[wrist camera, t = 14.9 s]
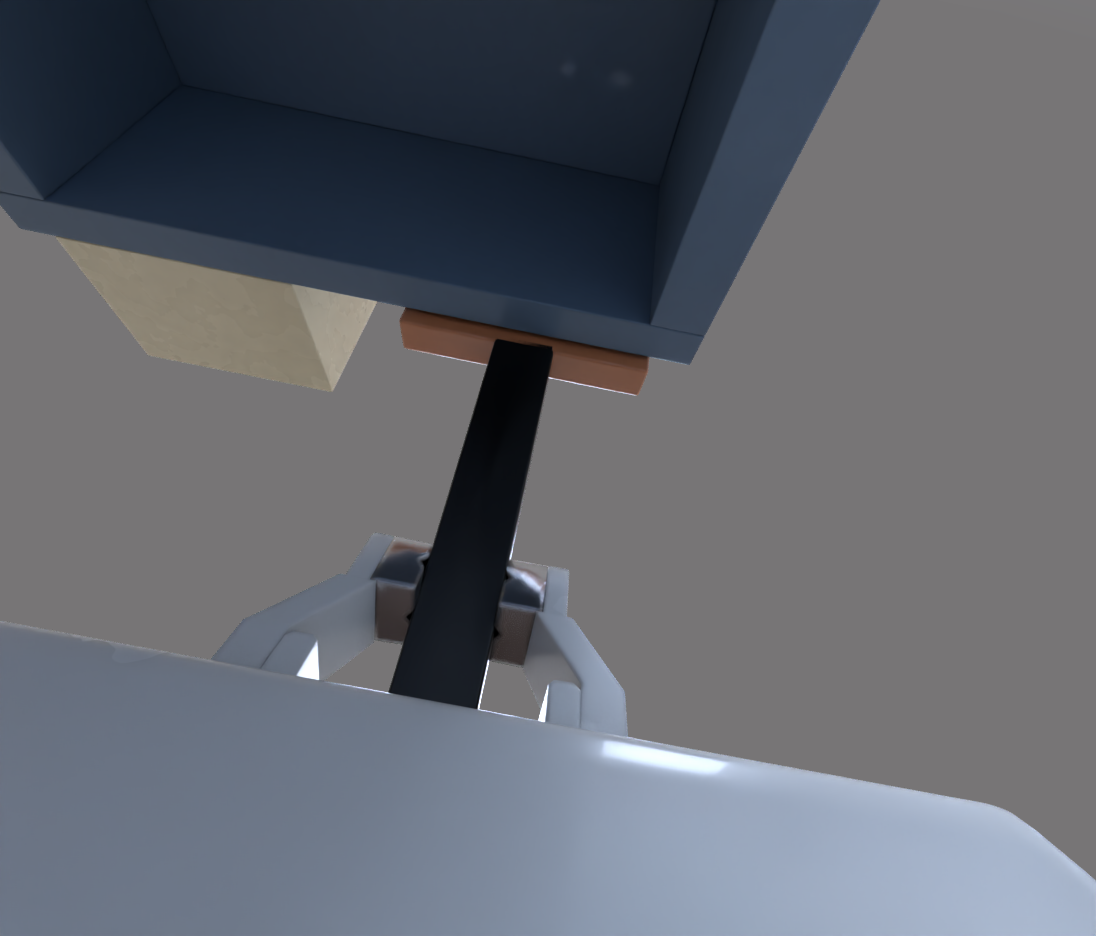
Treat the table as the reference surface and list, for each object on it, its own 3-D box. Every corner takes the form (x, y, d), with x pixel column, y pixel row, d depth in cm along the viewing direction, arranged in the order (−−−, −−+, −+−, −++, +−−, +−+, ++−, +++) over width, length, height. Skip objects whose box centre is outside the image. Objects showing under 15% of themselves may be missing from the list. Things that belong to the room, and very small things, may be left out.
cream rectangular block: (53, 236, 15) (148, 355, 19) (292, 285, 15) (332, 392, 19) (180, 120, 18) (236, 242, 23) (371, 160, 19) (391, 274, 23)
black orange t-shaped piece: (223, 703, 10) (265, 714, 11) (618, 778, 10) (595, 777, 12) (461, 180, 19) (463, 234, 21) (660, 223, 19) (643, 271, 21)
